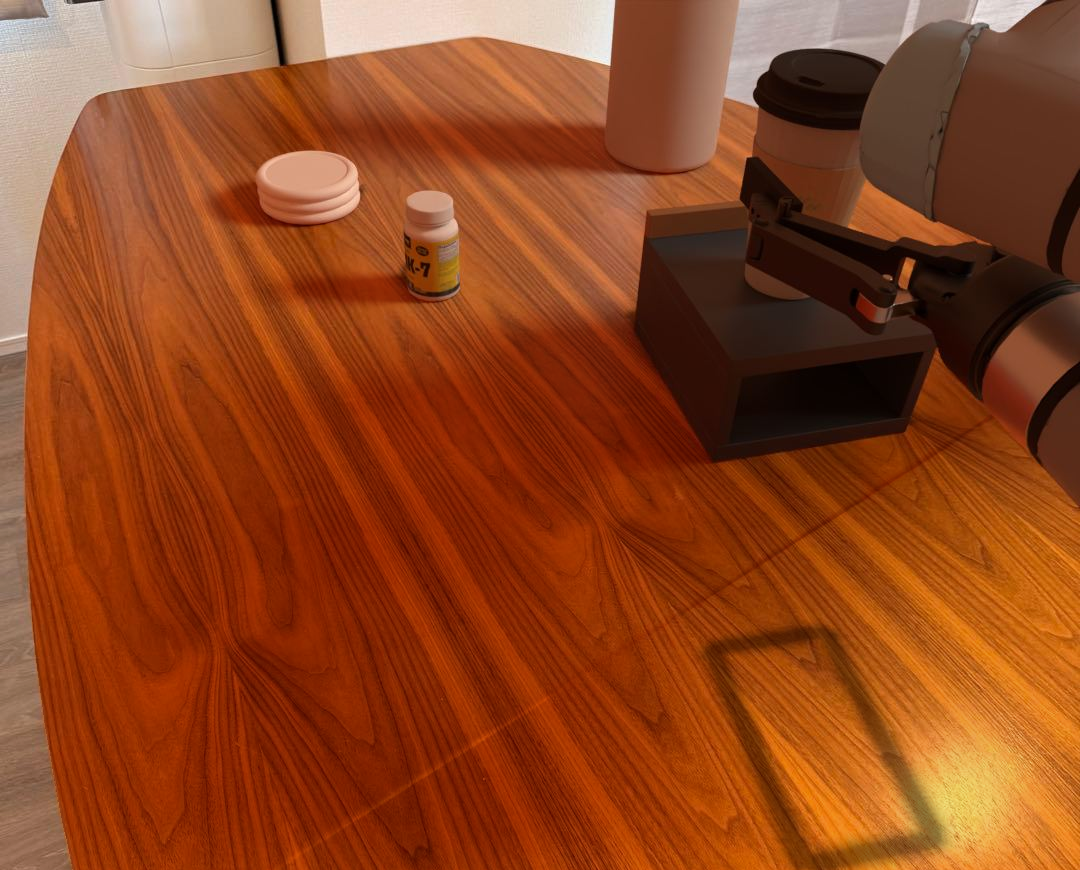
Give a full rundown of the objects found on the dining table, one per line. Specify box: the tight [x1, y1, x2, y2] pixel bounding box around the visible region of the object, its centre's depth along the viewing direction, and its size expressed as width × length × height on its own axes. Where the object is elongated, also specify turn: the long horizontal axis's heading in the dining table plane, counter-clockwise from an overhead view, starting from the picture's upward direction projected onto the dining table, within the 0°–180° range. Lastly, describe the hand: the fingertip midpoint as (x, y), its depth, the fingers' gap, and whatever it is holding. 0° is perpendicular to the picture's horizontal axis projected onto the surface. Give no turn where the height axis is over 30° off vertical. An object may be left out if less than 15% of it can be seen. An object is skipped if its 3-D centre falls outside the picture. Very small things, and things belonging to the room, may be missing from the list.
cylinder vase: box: [604, 0, 740, 174], centre depth 101 cm, size 12×12×25 cm
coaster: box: [254, 150, 361, 226], centre depth 97 cm, size 10×10×4 cm
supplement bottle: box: [402, 189, 461, 302], centre depth 85 cm, size 5×5×8 cm
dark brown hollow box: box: [633, 200, 938, 463], centre depth 75 cm, size 18×16×11 cm
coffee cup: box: [745, 47, 886, 300], centre depth 68 cm, size 9×9×15 cm
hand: (845, 168), depth 63 cm, fingers open, 13 cm apart
